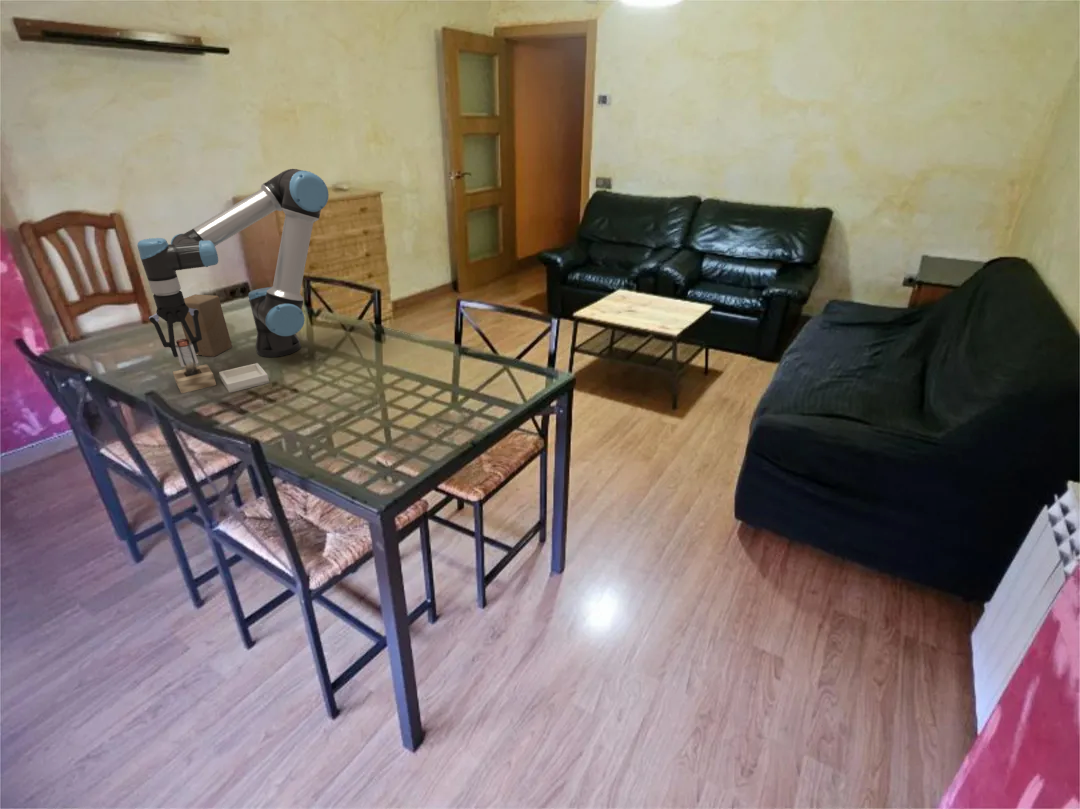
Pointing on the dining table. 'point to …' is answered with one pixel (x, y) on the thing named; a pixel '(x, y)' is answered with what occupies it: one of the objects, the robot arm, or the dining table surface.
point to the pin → (187, 357)
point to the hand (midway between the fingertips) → (189, 363)
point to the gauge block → (194, 379)
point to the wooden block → (208, 325)
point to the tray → (243, 377)
